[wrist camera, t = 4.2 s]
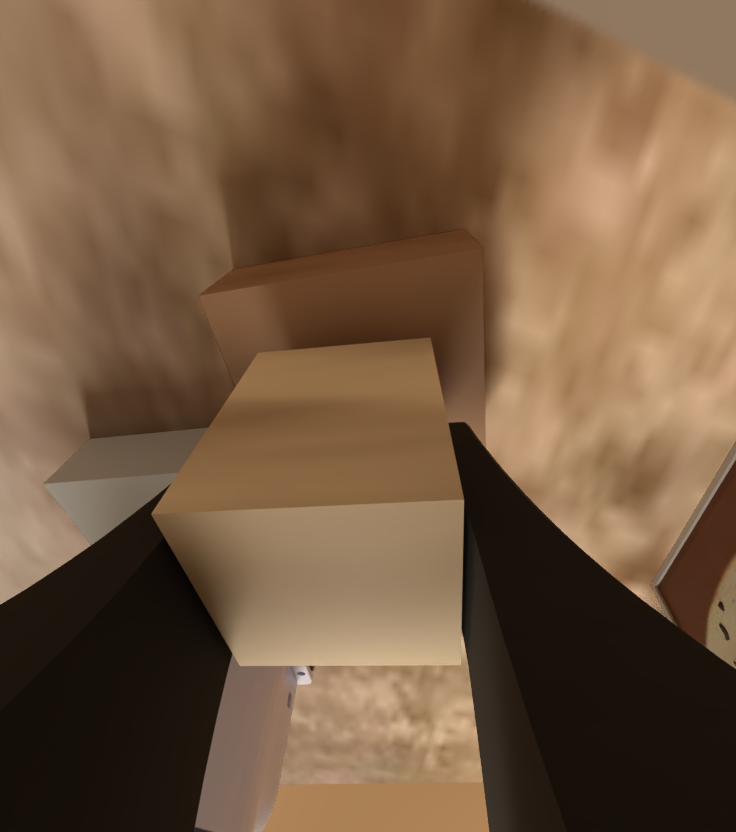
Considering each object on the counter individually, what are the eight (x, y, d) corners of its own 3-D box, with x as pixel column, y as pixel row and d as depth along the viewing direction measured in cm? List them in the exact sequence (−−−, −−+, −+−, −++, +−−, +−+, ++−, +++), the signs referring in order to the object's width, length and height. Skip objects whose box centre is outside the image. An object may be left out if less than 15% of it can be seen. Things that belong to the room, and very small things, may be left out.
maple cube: (435, 472, 11) (460, 665, 7) (294, 480, 12) (239, 666, 7) (430, 337, 9) (464, 499, 5) (258, 352, 9) (150, 514, 5)
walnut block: (470, 423, 15) (486, 476, 13) (296, 442, 16) (278, 495, 14) (463, 226, 12) (482, 248, 9) (236, 266, 13) (197, 295, 10)
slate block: (298, 536, 20) (285, 593, 17) (165, 544, 20) (133, 599, 18) (256, 418, 16) (230, 468, 13) (95, 434, 17) (42, 483, 14)
